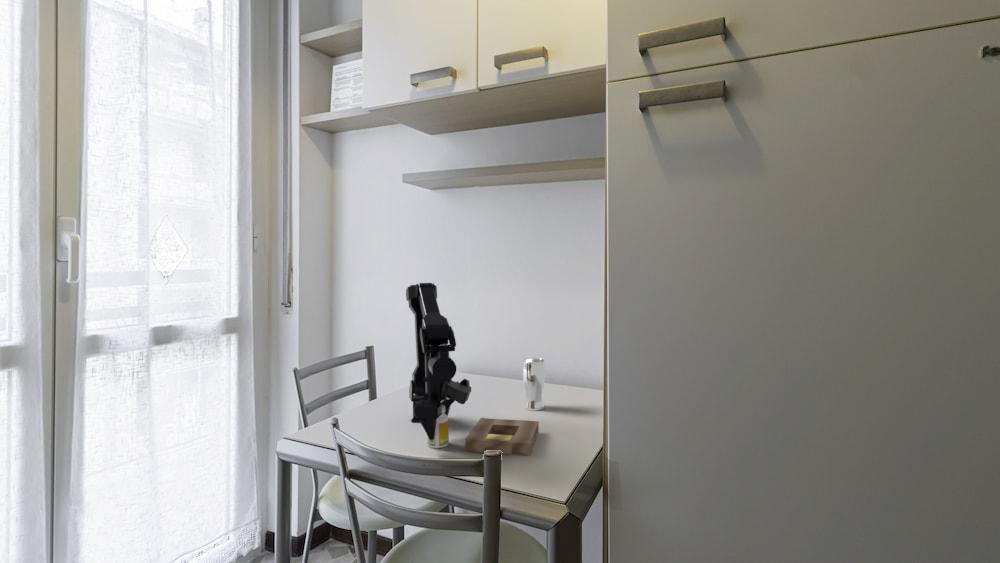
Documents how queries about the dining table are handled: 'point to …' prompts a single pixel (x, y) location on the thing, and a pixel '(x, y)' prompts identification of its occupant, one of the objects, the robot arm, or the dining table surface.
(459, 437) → the dining table surface
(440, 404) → the robot arm
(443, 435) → the supplement bottle
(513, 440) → the socket block
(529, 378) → the beer glass
